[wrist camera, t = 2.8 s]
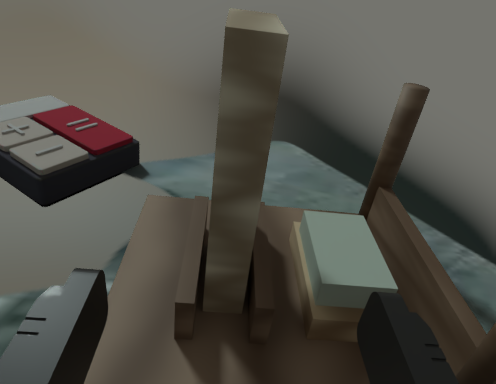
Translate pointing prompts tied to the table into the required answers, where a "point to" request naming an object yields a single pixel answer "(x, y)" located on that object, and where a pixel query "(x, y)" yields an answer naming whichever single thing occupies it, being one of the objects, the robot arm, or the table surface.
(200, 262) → the rack
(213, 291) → the beige wooden block
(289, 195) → the table surface
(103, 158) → the calculator
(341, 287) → the offcut upper
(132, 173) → the table surface
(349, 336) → the offcut lower
